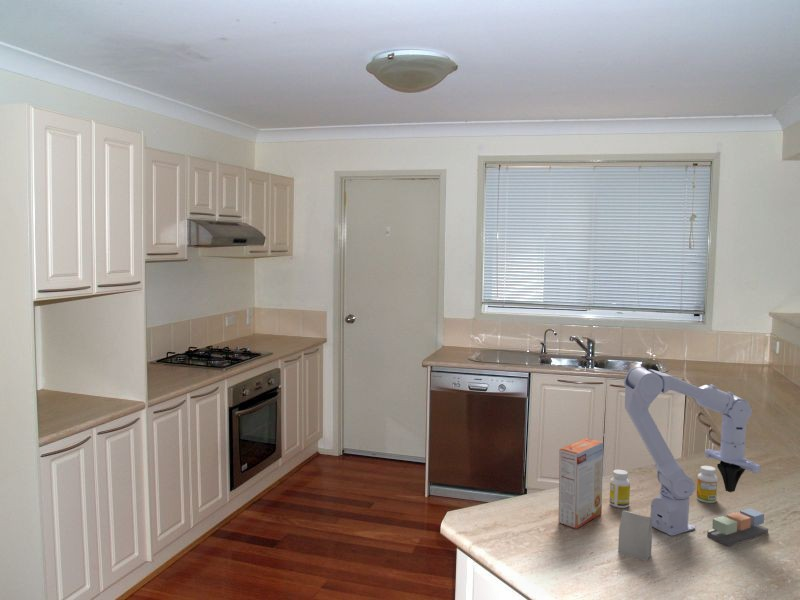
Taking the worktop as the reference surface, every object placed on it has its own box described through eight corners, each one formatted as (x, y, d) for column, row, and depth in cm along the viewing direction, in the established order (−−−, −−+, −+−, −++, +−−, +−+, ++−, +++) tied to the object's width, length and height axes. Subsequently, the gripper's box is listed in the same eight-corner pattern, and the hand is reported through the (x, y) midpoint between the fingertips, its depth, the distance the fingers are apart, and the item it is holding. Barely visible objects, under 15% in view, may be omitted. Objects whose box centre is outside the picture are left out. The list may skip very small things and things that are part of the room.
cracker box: (582, 508, 183) (585, 436, 182) (602, 514, 179) (605, 441, 177) (556, 522, 174) (558, 447, 172) (576, 530, 169) (578, 453, 167)
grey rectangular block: (646, 560, 153) (647, 520, 153) (618, 552, 158) (619, 512, 157) (651, 555, 156) (652, 515, 155) (623, 546, 161) (625, 507, 160)
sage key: (726, 534, 162) (727, 525, 162) (712, 528, 165) (712, 518, 165) (736, 531, 164) (737, 521, 164) (722, 525, 167) (723, 515, 167)
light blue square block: (754, 526, 167) (754, 516, 167) (739, 520, 171) (740, 510, 170) (763, 523, 169) (764, 513, 169) (749, 517, 172) (749, 508, 172)
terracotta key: (740, 530, 164) (741, 520, 164) (726, 524, 168) (726, 514, 168) (750, 527, 166) (750, 517, 166) (736, 521, 170) (736, 511, 170)
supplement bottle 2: (699, 494, 194) (700, 463, 193) (718, 499, 191) (720, 467, 190) (694, 500, 190) (695, 468, 189) (713, 505, 186) (715, 472, 185)
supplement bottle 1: (632, 504, 186) (633, 471, 185) (624, 510, 182) (625, 476, 181) (614, 499, 190) (615, 467, 189) (606, 504, 186) (607, 471, 185)
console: (728, 546, 161) (728, 540, 161) (707, 536, 166) (707, 530, 166) (767, 533, 168) (768, 527, 168) (746, 524, 174) (746, 518, 174)
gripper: (769, 446, 166) (765, 497, 167) (717, 431, 178) (715, 479, 179) (752, 450, 162) (749, 502, 163) (701, 435, 175) (698, 483, 176)
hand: (730, 490), depth 171 cm, fingers closed
